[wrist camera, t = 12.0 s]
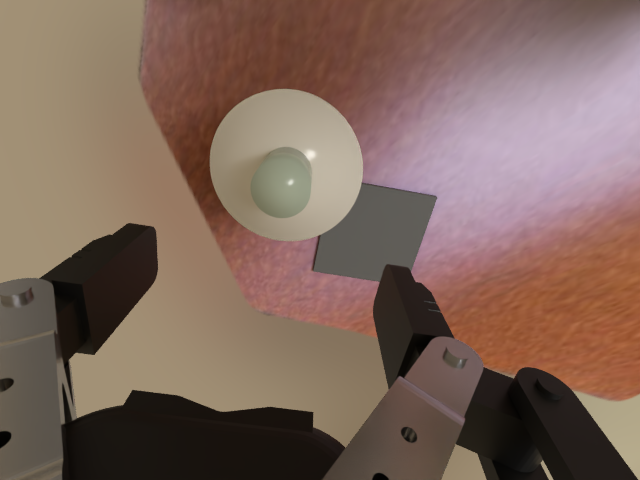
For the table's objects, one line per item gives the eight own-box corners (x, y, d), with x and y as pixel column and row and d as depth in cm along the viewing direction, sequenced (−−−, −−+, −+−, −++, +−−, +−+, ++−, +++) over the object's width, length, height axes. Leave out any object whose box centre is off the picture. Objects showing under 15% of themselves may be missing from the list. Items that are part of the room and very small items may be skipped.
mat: (435, 196, 44) (437, 197, 43) (404, 283, 50) (405, 285, 49) (332, 177, 43) (332, 178, 42) (313, 269, 49) (313, 271, 48)
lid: (377, 106, 25) (392, 113, 20) (343, 245, 30) (348, 279, 25) (217, 73, 24) (190, 72, 19) (211, 223, 29) (188, 253, 24)
